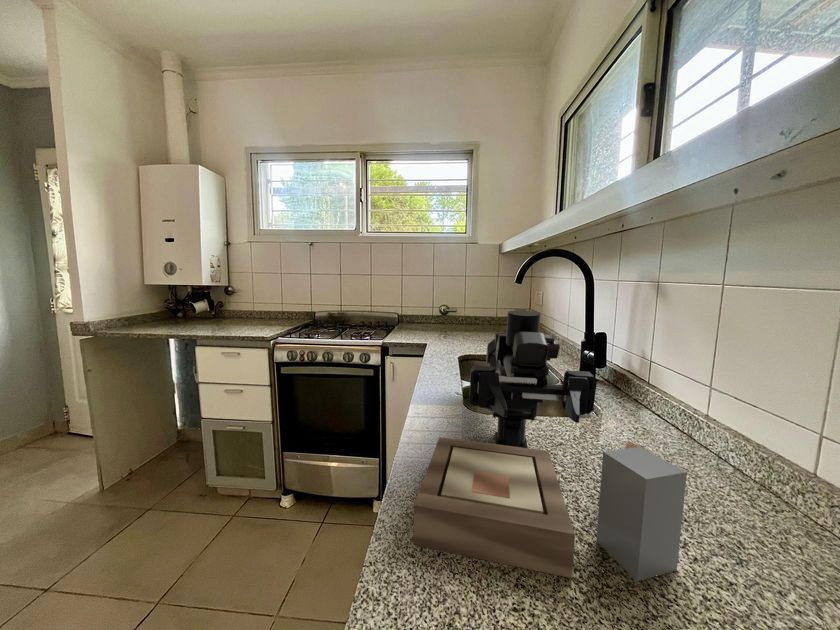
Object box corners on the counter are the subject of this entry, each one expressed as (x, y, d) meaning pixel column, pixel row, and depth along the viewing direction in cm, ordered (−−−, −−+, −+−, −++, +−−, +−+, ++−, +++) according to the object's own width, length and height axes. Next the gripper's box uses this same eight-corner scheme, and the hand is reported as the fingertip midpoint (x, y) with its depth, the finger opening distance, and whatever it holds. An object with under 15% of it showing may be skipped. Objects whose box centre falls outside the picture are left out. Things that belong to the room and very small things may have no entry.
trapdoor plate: (453, 452, 56) (453, 446, 56) (531, 463, 53) (532, 457, 53) (440, 501, 43) (441, 493, 43) (542, 518, 40) (543, 510, 40)
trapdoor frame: (438, 465, 60) (439, 437, 59) (546, 481, 56) (548, 450, 55) (413, 545, 41) (414, 505, 41) (571, 578, 37) (575, 534, 37)
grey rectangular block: (596, 541, 43) (603, 451, 42) (632, 533, 44) (639, 446, 43) (637, 581, 37) (646, 479, 36) (676, 570, 38) (687, 472, 37)
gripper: (471, 325, 57) (472, 355, 42) (582, 329, 55) (625, 363, 40) (469, 383, 60) (469, 431, 45) (575, 390, 57) (613, 443, 42)
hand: (541, 416), depth 43 cm, fingers open, 9 cm apart
